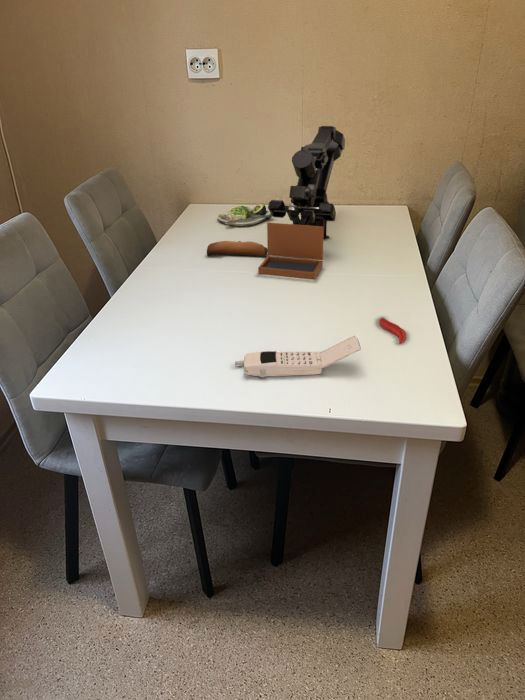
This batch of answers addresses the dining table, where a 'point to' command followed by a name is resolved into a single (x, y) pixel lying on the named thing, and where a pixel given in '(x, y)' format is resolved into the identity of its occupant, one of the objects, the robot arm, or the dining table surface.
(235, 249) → the sunglasses case
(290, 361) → the mobile phone
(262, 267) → the wooden box
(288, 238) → the cover
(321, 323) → the dining table surface
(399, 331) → the cayenne pepper
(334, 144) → the robot arm
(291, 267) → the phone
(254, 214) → the salad plate
